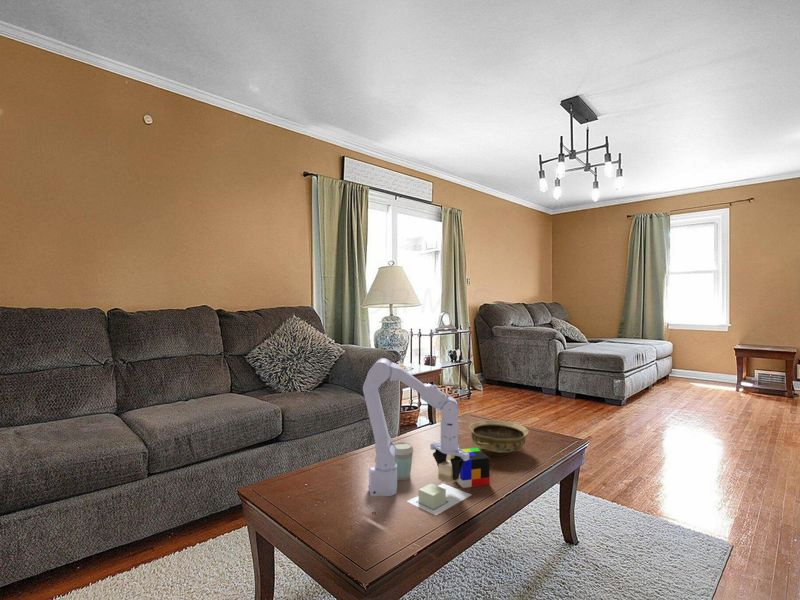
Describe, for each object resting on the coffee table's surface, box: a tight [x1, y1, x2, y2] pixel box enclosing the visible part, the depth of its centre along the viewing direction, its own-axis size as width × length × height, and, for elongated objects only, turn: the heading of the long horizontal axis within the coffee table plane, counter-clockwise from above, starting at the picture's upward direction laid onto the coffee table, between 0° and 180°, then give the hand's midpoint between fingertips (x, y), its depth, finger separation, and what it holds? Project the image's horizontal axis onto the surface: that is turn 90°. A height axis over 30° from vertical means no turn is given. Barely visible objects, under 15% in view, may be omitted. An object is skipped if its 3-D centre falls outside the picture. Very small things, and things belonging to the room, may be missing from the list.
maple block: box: [437, 459, 460, 485], centre depth 140 cm, size 5×5×5 cm
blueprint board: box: [406, 482, 472, 516], centre depth 136 cm, size 18×12×1 cm, turn 135°
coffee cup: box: [392, 441, 415, 481], centre depth 152 cm, size 8×8×12 cm
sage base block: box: [418, 483, 446, 509], centre depth 134 cm, size 6×6×4 cm
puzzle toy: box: [450, 447, 491, 489], centre depth 150 cm, size 10×10×10 cm
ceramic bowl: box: [468, 419, 529, 456], centre depth 178 cm, size 30×24×10 cm
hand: (449, 476), depth 140 cm, fingers closed on maple block, 5 cm apart
